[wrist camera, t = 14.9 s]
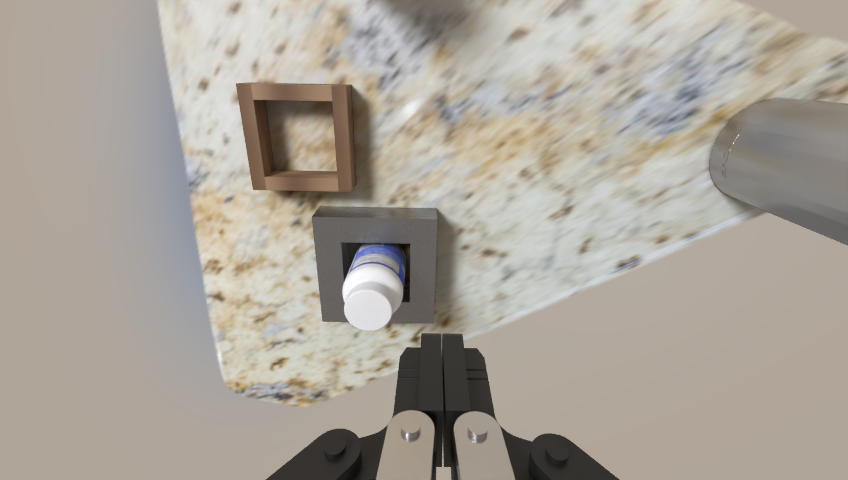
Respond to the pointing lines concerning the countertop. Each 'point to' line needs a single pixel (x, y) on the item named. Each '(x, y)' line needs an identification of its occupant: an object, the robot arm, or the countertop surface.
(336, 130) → the walnut stand
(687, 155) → the countertop surface
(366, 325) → the pill bottle
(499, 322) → the countertop surface
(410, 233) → the steel block
